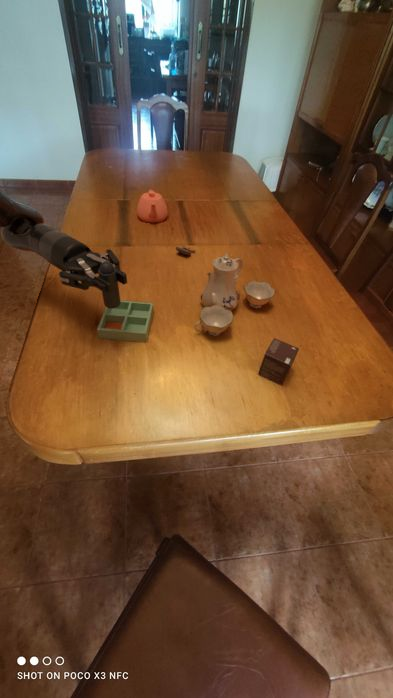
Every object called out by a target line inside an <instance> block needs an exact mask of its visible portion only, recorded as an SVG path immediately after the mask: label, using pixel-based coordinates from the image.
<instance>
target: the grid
mask: <svg viewBox="0 0 393 698" xmlns="http://www.w3.org/2000/svg"><path fill="white" fill-rule="evenodd" d="M120 302H121V303H120V306H118V307H117V308H112V309H111V308H107V307H106V306H105V308H104V311H103V314H102V315H101V319H100V321H99V324H98V325H97V329H96V330H97V335H98V339H102V340H103V339H105V340H115V341H127V342H139V343H147V342H148V337H149V334H150V329H151V324H152V320H153V315H154V312H155V311H154V302H145V301H143V302H142V301H131V300H121V299H120Z"/></svg>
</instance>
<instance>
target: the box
mask: <svg viewBox="0 0 393 698" xmlns="http://www.w3.org/2000/svg"><path fill="white" fill-rule="evenodd" d="M299 350H300V349H299V347H297V346H295V345H292V344H290V343H288V342H285V341H283V340H280V339H279V338H275V337H274V338H273V339H272V341H271V343H270V344H269V346H268V347H267V349H266V351H265V353H264V356H263V357H262V362H261V363H260V366H259V370H258V373H257V374H258V375H259V376H261V377H263V378H265V379H267V380H269V381H272V382H274V383H276V384H277V385H279V386H283V384H284V382H285V381H286V378H287V376H288V375H289V372H290V371H291V368H292V366H293V364H294V361H295V359H296V357H297V355H298V352H299Z"/></svg>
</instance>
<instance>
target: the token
mask: <svg viewBox="0 0 393 698" xmlns="http://www.w3.org/2000/svg"><path fill="white" fill-rule="evenodd" d="M98 273H99V274H98V276H99V277H101V278H103V279H104V280H106V281H108V282H109V283H110V284H111V287H112V292H110V293H107V292H103V291H101V295H102V299H103V305H104V307H105V308H106V307H107V308H111V309H112V308H117V307H118V306H120V303H121V302H120V300H121V295H120V288H119V282H118V280H117V273H116V269H115V267H114V266H113V264H112V263H110V262H108V261H105V262H102V263H101V265H100V268H99V270H98Z"/></svg>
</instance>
